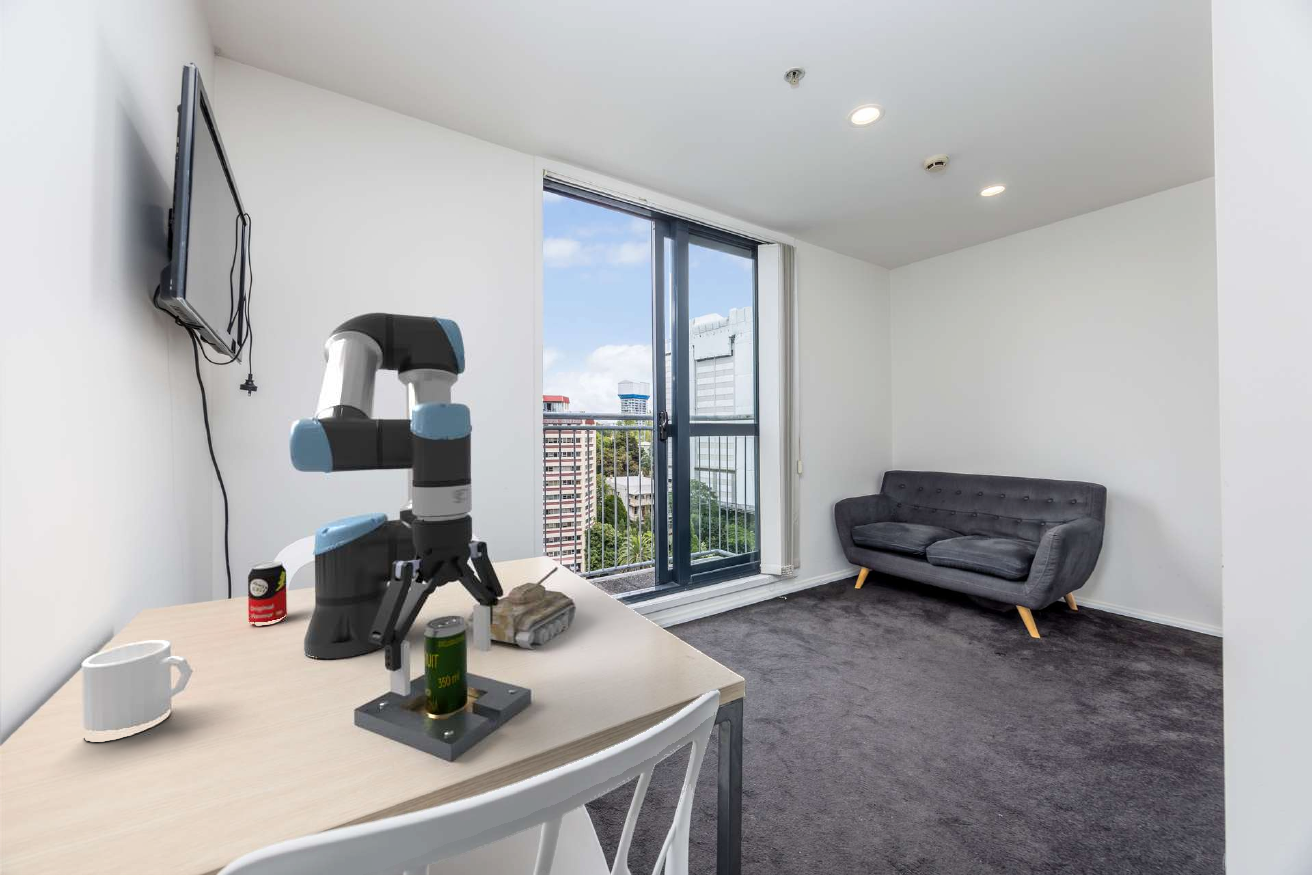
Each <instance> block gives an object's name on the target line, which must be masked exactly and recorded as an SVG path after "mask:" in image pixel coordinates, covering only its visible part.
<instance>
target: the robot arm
mask: <svg viewBox="0 0 1312 875" xmlns="http://www.w3.org/2000/svg"><path fill="white" fill-rule="evenodd" d="M323 350H324V351H323V352H324V353H323V354H324V356H323V357H324V359H325V362H326V363H327V365H326V369H325V374H324V376H323V377H324V378H323V383H322V386H321V391H320V395H319V398H318V403H317V407H316V411H315V415H314V417H310V418H300V419H296V420H295V421H293V423H292V424H291V426H290V427H291V428H290V429H289V430H290V432H289V455H290V460H291V463H292V464H291V465H292V467H294V469H296V470H297V471H299V472H302V473H303V472H304V473H305V472H308V473H309V472H310V473H312V472H314V473H325V474H329V473H335V472H336V473H337V472H338V473H339V472H354V471H355V472H358V471H361V472H362V471H376V470H377V471H378V470H379V471H382V470H383V471H384V470H388V471H389V470H407V501H406V503H405V504H404V505H403V506H402V507H401V508H400V510H399V519H392V520H389V517H388V515H387V514H386V513H383V512H378V513H367V514H361V515H355V516H351V517H347V518H341V519H338V520H335V521H331V522H328V523H325V524H324V525H322V526H320V527H319V528H318V529H317V530H316V533H315V537H314V550H313V555H314V577H315V578H314V594H315V595H314V598H315V602H314V604H315V606H314V610H313V613H312V616H311V619H310V622H309V624H308V628H307V630H306V634H305V636H304V640H303V651H305V653H306V654H308V655H310V656H314V657H317V658H325V659H324V660H332V658H334V659H335V658H336V659H343V658H349V657H354V656H355V657H356V656H359V655H363V654H366V653H371V652H373V651H375V650H378V649H380V648H383V647H384V667H385V669H386V670H388V671H390V675H389V676H390V677H389V679H390V689H389V690H390V691H391V692H394V693H397V694H400V695H403V696H406V695H408V694H410V681H411V662H410V661H411V652H410V650H411V649H410V647H411V646H410V645H411V644H410V641H407V640H406V636H407V635H408V633H409V632H410V629H411V628H412V626H413V625H414V622H415V621H416V619H417V617H418V616H419V614H420V612H421V610H422V608H423V607H424V605H425V603H426V602H427V600H428V598H429V597H430V595H431V594H433V593H434V592H435V591H436V589H437V587H439V588H441V587H443V586H445V585H447V584H449V583H456V582H459V583H460V584H461V585H462V587H464V588H465V589H466V591H468V593H469V594H470V595H471V596H472V597H473V598H474V599H475V600H476V602H477V603H476V604H474V605H473V606H472V613H473V632H472V635H473V636H472V637H473V638H472V639H473V649H474V650H477V651H481V652H486V653H488V652H490V651H491V649H492V648H491V644H492V643H491V642H492V641H491V640H492V639H491V635H490V625H492V622H493V615H492V614H493V606H496V605H497V604H498V602H499V600H500V599H499V598H501V597H502V596H503V595H504V589H503V587H502V584H501V582H500V581H499V578H498V576H497V573H496V571H495V568H494V566H493V565H492V562H491V559H490V558H489V554H488V553H489V552H488V547H487V546H488V545H487V542H486V541H479V540H473V517H472V516H471V515H470V514H469V513H470V512H471V511H472V508H473V507H472V504H473V503H472V500H473V499H472V496H473V495H472V478H471V477H472V449H471V448H472V432H473V426H472V422H471V421H472V420H471V419H472V418H471V410H470V408H469V406H468V405H466V404H464V403H457V402H452V390H451V389H452V386H454V385H455V384H456V383H457V382H458V381H459V375H460V374H461V375H462V374H463V373H464V372H465V370H466V369H465V368H466V356H465V347H464V341H463V335H462V332H461V328H460V326H459V325H458V323H456V321H455V320H453V319H446V318H440V317H437V316H432V317H430V316H422V315H421V316H420V315H419V316H418V315H409V314H398V313H397V314H396V313H387V312H370V313H364V314H359V315H357V316H355V317H352V318H350V319H348V320H346V321H344V322H343V323H341V324H340V325H338V326H337V327H336V328H334V330H333V331H332V332H331V333H330V335H329V336H328V338H327V339H326V343H325V345H324V349H323ZM378 370H379V371H380V370H383V371H385V370H387V371H397V379H398V380H399V382H401V383H402V384H403V385H404V386H405V388H406V390H405V391H406V392H405V393H406V396H405V397H406V399H405V400H406V418H405V419H403V418H402V419H401V418H397V419H396V418H395V419H393V418H389V419H387V418H374V407H375V406H374V405H375V391H376V378H377V377H376V376H377V375H376V374H377V372H378ZM469 560H470V561H471V563H472V566H473V567H474V570H475V571H476V574H477V576H478V577H477V576H476V574H475V571H474V570H473V568H472V567H471V566H470V565H469V564H468V562H469ZM423 582H424V583H423ZM478 603H479V604H478ZM305 653H304V654H305ZM317 658H316V659H317ZM329 658H330V659H329ZM334 659H333V660H334Z"/></svg>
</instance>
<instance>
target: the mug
mask: <svg viewBox="0 0 1312 875" xmlns="http://www.w3.org/2000/svg"><path fill="white" fill-rule="evenodd" d="M171 645H172V644H171V643H170V642H169V641H167V640H162V639H158V640H157V639H156V640H154V639H153V640H151V639H150V640H145V641H136V642H132V643H128V644H127V643H125V644H123V645H119V646H115V647H111V648H108V649H105V650H102V651H100V652H97V653H94V654H92V655H90V656H88V657H87V658H86V659H84V660H83V662H82V663H81V689H82V690H81V693H82V694H81V699H82V700H81V701H82V706H81V708H82V729H83V728H85V730H92V731H95V730H96V731H106V730H119V729H123V728H130V727H133V726H139V725H141V724H145V723H148V722H150V721H153V720H155V719H157V718H158V717H161V716H162V715H164V714H165V713H167V711H168V710H169V709H170V708H171V709H172V697H175V696H176V695H178V694H179V693H181V692H183V691H184V690H185V688H186V686H187V684H188V682H189V680H190V678H191V676H192V674H193V672H194V671H193V669H192V668H191V666H190V664H189V662H188V661H187V660H186V658H183V657H181V656H177V655H172V654H171V652H172V649H171V648H172V647H171ZM171 655H172V656H171ZM172 666H173V667H176V668H177V670H178V671H179V673H180V674H181V675H180V676H179V679H178V681H177V682H176V685H175V687H174V688H172Z"/></svg>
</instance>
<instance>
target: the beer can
mask: <svg viewBox="0 0 1312 875" xmlns="http://www.w3.org/2000/svg"><path fill="white" fill-rule="evenodd" d="M465 622H466V620H465V618H464V617H463V616H459V615H448V616H441V617H437V618H434V619H431V620H429V621H427V623H426V624H425V629H424V632H423V638H424V639H423V646H424V648H423V649H424V650H423V652H424V674H425V711H426V713H427V715H428V716H429V717H431V718H434V719H438V720H439V719H446V718H448V717H450V716H451V715H453V714H454V713H456V712H458V711H459V710H464V708H465V706H466V704H467V701H468V700H467V673H468V651H467V650H468V645H467V644H468V642H467V641H468V640H467V638H468V637H467V636H468V635H467V633H468V632H467V624H466V623H465Z"/></svg>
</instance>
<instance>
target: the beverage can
mask: <svg viewBox="0 0 1312 875" xmlns="http://www.w3.org/2000/svg"><path fill="white" fill-rule="evenodd" d="M247 596H248V598H247V599H248V602H247V603H248V605H247V606H248V607H247V608H248V610H247V611H248V622H249V623H250V622H254V623H255V622H268V621H272V620H277V619H280V618H282V617H284V616H285V615H286V616H287V611H288V610H287V609H288V605H287V603H288V602H287V600H288V599H287V570H286V568H285V567H284V565H283V562H280V561H272V562H263V563H258V564H255V565H252V566H251V570H250V572H249V574H248V576H247ZM286 616H285V617H286ZM285 617H284V618H285Z"/></svg>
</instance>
